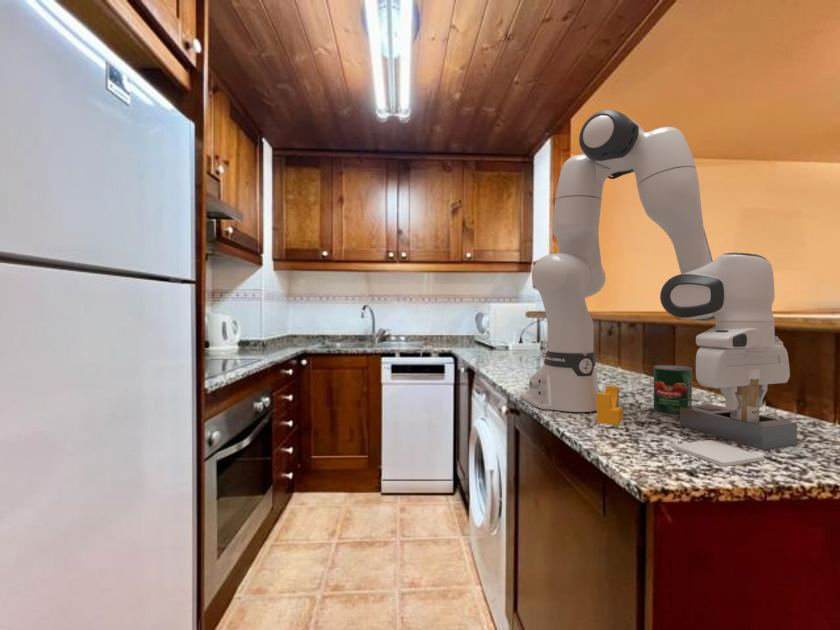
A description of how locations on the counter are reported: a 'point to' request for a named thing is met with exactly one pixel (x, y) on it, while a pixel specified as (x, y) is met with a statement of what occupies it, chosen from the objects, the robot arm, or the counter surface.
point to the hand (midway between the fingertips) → (744, 408)
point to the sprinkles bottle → (748, 400)
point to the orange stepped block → (609, 406)
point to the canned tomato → (672, 389)
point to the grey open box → (739, 427)
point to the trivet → (718, 453)
